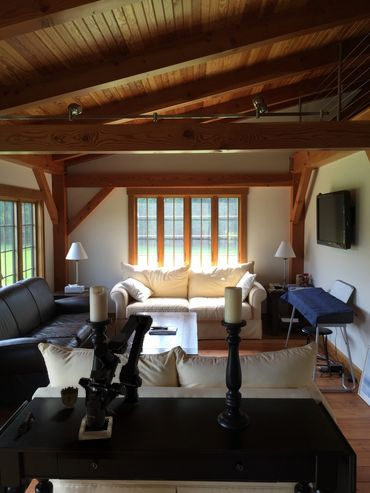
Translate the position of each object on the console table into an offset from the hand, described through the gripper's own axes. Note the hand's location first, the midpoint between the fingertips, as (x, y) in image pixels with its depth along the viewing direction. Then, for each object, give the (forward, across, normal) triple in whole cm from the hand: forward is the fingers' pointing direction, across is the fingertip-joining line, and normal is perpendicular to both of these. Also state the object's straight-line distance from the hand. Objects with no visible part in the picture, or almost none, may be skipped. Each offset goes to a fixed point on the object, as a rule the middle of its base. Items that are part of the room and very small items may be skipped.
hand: (94, 408), depth 148 cm
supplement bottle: (+4, 0, +6) cm, 7 cm away
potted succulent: (-2, -21, +16) cm, 26 cm away
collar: (+6, 0, +7) cm, 9 cm away
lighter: (+12, -25, +2) cm, 28 cm away
